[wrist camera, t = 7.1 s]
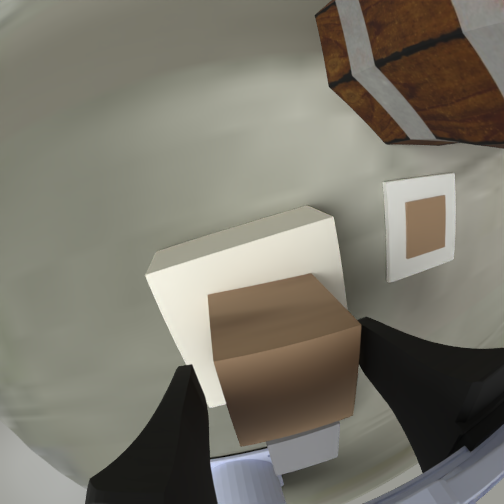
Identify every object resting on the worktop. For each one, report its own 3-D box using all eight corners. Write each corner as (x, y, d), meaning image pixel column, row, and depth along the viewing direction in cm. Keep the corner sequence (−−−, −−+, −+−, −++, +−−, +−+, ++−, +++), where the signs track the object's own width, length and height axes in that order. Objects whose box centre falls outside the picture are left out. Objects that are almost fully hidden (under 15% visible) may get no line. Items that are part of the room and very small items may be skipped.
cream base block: (328, 327, 20) (352, 360, 16) (206, 367, 19) (210, 407, 16) (304, 204, 17) (333, 216, 13) (156, 249, 16) (144, 275, 13)
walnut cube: (315, 353, 16) (353, 415, 11) (227, 374, 15) (240, 446, 10) (311, 272, 14) (361, 324, 9) (207, 294, 13) (213, 361, 9)
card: (450, 258, 20) (455, 260, 19) (386, 280, 19) (391, 284, 19) (451, 172, 18) (456, 173, 17) (382, 181, 17) (387, 182, 16)
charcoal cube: (317, 415, 23) (337, 456, 18) (263, 431, 22) (276, 475, 17) (315, 378, 21) (339, 423, 16) (253, 396, 20) (267, 445, 16)
